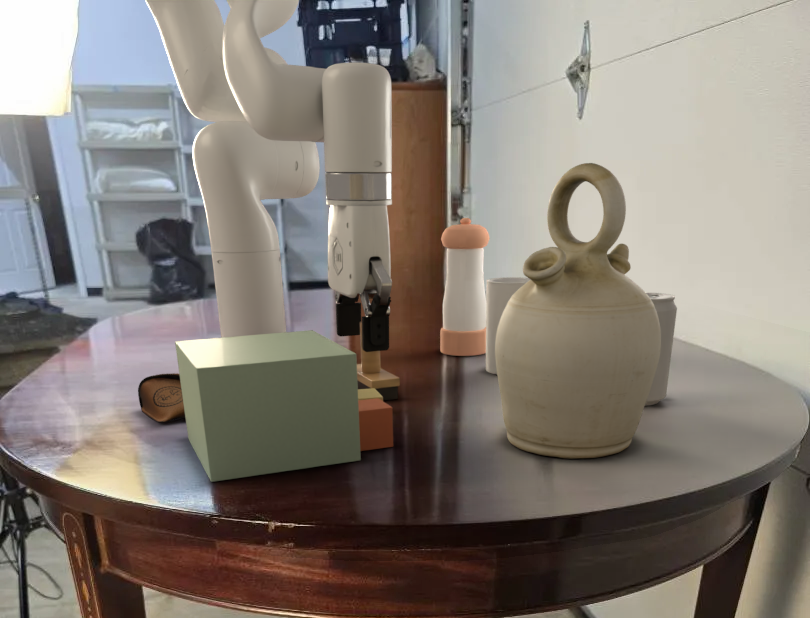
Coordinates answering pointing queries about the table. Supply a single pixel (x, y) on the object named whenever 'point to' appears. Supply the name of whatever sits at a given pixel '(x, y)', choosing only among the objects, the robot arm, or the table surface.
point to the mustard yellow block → (369, 394)
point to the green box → (269, 403)
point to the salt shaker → (464, 290)
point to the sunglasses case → (162, 397)
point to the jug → (577, 336)
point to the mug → (497, 311)
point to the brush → (376, 374)
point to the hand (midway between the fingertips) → (362, 342)
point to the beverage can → (663, 344)
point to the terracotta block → (375, 424)
